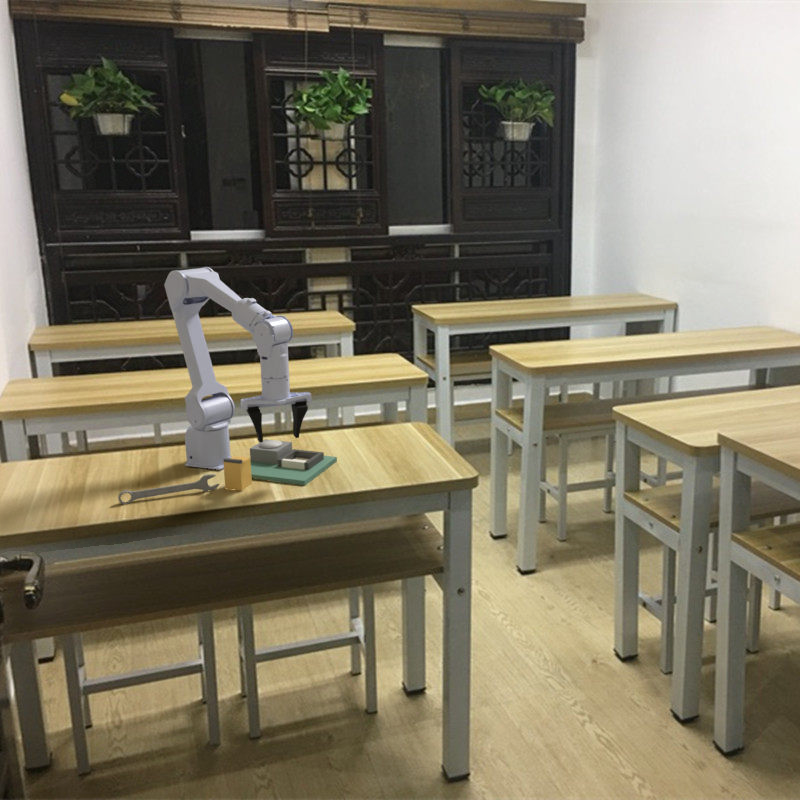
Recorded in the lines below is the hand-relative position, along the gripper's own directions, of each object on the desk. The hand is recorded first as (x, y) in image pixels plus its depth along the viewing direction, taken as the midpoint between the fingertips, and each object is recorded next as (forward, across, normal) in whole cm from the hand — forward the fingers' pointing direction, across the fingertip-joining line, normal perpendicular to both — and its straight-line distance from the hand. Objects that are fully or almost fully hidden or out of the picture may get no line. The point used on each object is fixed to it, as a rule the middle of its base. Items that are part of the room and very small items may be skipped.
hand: (278, 438), depth 167 cm
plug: (+10, -9, +1) cm, 13 cm away
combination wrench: (+10, -23, +1) cm, 25 cm away
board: (+10, +3, +8) cm, 13 cm away
